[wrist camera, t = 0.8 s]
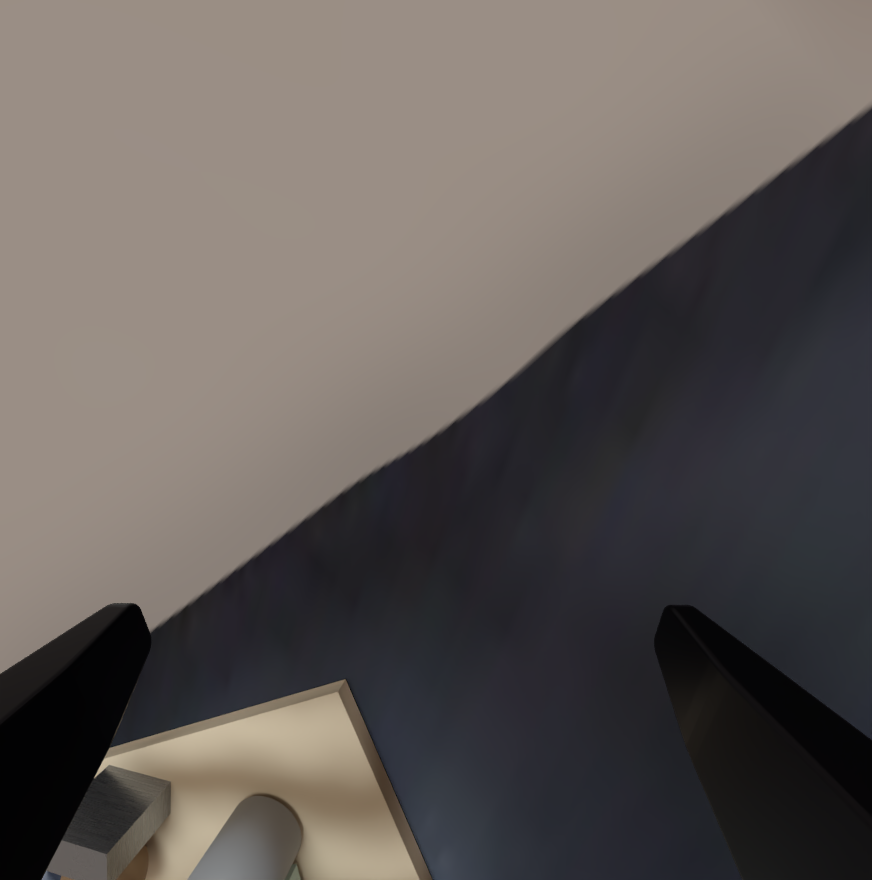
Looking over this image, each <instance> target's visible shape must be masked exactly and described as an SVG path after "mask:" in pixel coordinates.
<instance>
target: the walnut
mask: <svg viewBox="0 0 872 880" xmlns="http://www.w3.org/2000/svg"><path fill="white" fill-rule="evenodd" d="M148 864H149V856H148V850H147V846H146V844H145V845H144V846H143V847H142V849H141V850H140V851H139V852H138V854H137V855H136V856H135V857H134V858H133V860H132V861H131V862H130V863H129V865H128V866H127V867H126V868H125V869H124V871H123V872H122V873H121V874H120V876H119V877H118V878H117V879H116V880H145V878H146V875H147V871H148ZM60 880H74V879H71V878H67V877H64V876H62V877H61V879H60Z"/></svg>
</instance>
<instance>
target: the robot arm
mask: <svg viewBox="0 0 872 880" xmlns="http://www.w3.org/2000/svg"><path fill="white" fill-rule="evenodd" d="M654 647H655V652H656V655H657V658H658V662H659V665H660V668H661V671H662V674H663V677H664V680H665V684H666V687H667V690H668V693H669V696H670V699H671V702H672V706H673V709H674V712H675V715H676V718H677V721H678V724H679V728H680V731H681V734H682V736H683V739H684V742H685V745H686V748H687V750H688V753H689V755H690V758H691V760H692V763H693V765H694V767H695V770H696V772H697V774H698V777H699V779H700V781H701V784H702V786H703V788H704V791H705V793H706V795H707V798H708V800H709V803H710V805H711V807H712V810H713V812H714V814H715V817H716V819H717V821H718V824H719V826H720V828H721V831H722V833H723V835H724V838H725V840H726V842H727V845H728V847H729V849H730V852H731V854H732V857H733V859H734V861H735V864H736V866H737V868H738V871H739V873H740V875H741V878H742V880H872V740H871V739H870V738H868V737H867V736H866V735H864V734H863V733H862V732H860V731H859V730H858V729H856V728H855V727H854V726H852V725H851V724H850V723H848V722H847V721H846V720H844V719H843V718H842V717H840V716H839V715H838V714H836V713H835V712H834V711H832V710H831V709H830V708H828V707H827V706H826V705H824V704H823V703H822V702H820V701H819V700H818V699H816V698H815V697H814V696H812V695H811V694H810V693H808V692H807V691H806V690H804V689H803V688H802V687H800V686H799V685H798V684H796V683H795V682H794V681H792V680H791V679H790V678H788V677H787V676H786V675H784V674H783V673H782V672H780V671H779V670H778V669H776V668H775V667H774V666H772V665H771V664H770V663H768V662H767V661H766V660H764V659H763V658H762V657H760V656H759V655H758V654H756V653H755V652H754V651H752V650H751V649H750V648H748V647H747V646H746V645H744V644H743V643H742V642H740V641H739V640H738V639H736V638H735V637H734V636H732V635H731V634H730V633H728V632H727V631H726V630H724V629H723V628H722V627H720V626H719V625H718V624H716V623H715V622H714V621H712V620H711V619H710V618H708V617H707V616H706V615H704V614H703V613H702V612H700V611H699V610H698V609H696V608H695V607H693V606H690V605H668V606H666V607H665V608H664V610H663V613H662V616H661V619H660V622H659V625H658V628H657V631H656V634H655V638H654ZM150 648H151V635H150V632H149V629H148V627H147V624H146V622H145V619H144V616H143V614H142V611H141V609H140V607H139V606H137V605H136V604H133V603H114V604H110V605H107V606H106V607H104V608H102V609H101V610H99V611H98V612H96V613H94V614H93V615H92V616H90V617H88V618H87V619H85V620H84V621H82V622H80V623H79V624H77V625H76V626H74V627H73V628H71V629H69V630H68V631H66V632H65V633H63V634H62V635H60V636H59V637H57V638H56V639H54V640H52V641H51V642H49V643H48V644H46V645H44V646H43V647H41V648H40V649H38V650H37V651H35V652H34V653H32V654H30V655H29V656H27V657H26V658H24V659H23V660H21V661H20V662H18V663H16V664H15V665H13V666H12V667H10V668H9V669H7V670H5V671H4V672H2V673H1V674H0V880H42V878H43V876H44V874H45V872H46V870H47V868H48V866H49V864H50V862H51V860H52V858H53V856H54V854H55V853H56V851H57V849H58V847H59V845H60V843H61V841H62V839H63V837H64V835H65V833H66V831H67V829H68V827H69V826H70V824H71V822H72V820H73V818H74V816H75V814H76V812H77V810H78V808H79V806H80V804H81V802H82V800H83V799H84V797H85V795H86V793H87V791H88V789H89V787H90V785H91V783H92V781H93V779H94V777H95V775H96V773H97V772H98V770H99V768H100V766H101V764H102V762H103V760H104V758H105V756H106V754H107V752H108V750H109V748H110V746H111V743H112V741H113V739H114V737H115V734H116V732H117V730H118V727H119V725H120V722H121V720H122V718H123V715H124V713H125V710H126V708H127V705H128V703H129V700H130V698H131V696H132V693H133V691H134V688H135V686H136V683H137V681H138V679H139V676H140V674H141V671H142V669H143V666H144V664H145V661H146V659H147V657H148V654H149V651H150Z"/></svg>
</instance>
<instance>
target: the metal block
mask: <svg viewBox="0 0 872 880" xmlns="http://www.w3.org/2000/svg"><path fill="white" fill-rule="evenodd" d="M170 813H171V782H170V781H167V780H163V779H159V778H156V777H152V776H148V775H145V774H141V773H137V772H134V771H130V770H126V769H123V768H119V767H115V766H112V765H108V766H107V767H106V768H105V769H104V770H103V771H102V772H101V773H100V774H99V775H97V776H96V777H95V778H94V779H93V781H92V783H91V785H90V787H89V789H88V791H87V793H86V795H85V797H84V799H83V800H82V802H81V804H80V806H79V808H78V810H77V812H76V814H75V816H74V818H73V820H72V822H71V824H70V826H69V827H68V829H67V831H66V833H65V835H64V837H63V839H62V841H61V843H60V845H59V847H58V849H57V851H56V853H55V854H54V856H53V858H52V860H51V862H50V864H49V866H48V868H47V870H46V871H49V872H52V873H55V874H58V875H61V876H64V877H67V878H71V879H74V880H116V879H117V878H118V877H119V876H120V874H121V873H122V872H123V871H124V869H125V868H126V867H127V866H128V865H129V863H130V862H131V861H132V860H133V858H134V857H135V856H136V855H137V854H138V852H139V851H140V850H141V849H142V847H143V846H144V845H145V844H146V843H147V841H148V840H149V839H150V838H151V836H152V835H153V834H154V833H155V832H156V830H157V829H158V828H159V827H160V825H161V824H162V823H163V822H164V821H165V819H166V818H167V817H168V816H169V814H170Z"/></svg>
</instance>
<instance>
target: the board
mask: <svg viewBox="0 0 872 880" xmlns="http://www.w3.org/2000/svg"><path fill="white" fill-rule="evenodd" d="M108 765H112V766H115V767H119V768H123V769H126V770H130V771H134V772H137V773H141V774H145V775H148V776H152V777H156V778H159V779H163V780H167V781H170V782H171V813H170V814H169V816H168V817H167V818H166V819H165V821H164V822H163V823H162V824H161V825H160V827H159V828H158V829H157V830H156V832H155V833H154V834H153V835H152V836H151V838H150V839H149V840H148V841H147V843H146V846H147V850H148V856H149V864H148V871H147V875H146V878H145V880H187V879H188V878H189V876H190V875H191V873H192V872H193V870H194V869H195V867H196V866H197V864H198V863H199V861H200V860H201V858H202V857H203V855H204V854H205V852H206V851H207V850H208V848H209V847H210V845H211V844H212V842H213V841H214V839H215V838H216V836H217V835H218V833H219V832H220V830H221V829H222V827H223V826H224V824H225V823H226V821H227V820H228V818H229V817H230V816H231V814H232V813H233V811H234V810H235V808H236V807H237V805H238V804H239V803H240V802H241V801H243V800H244V799H246V798H248V797H252V796H264V797H269V798H272V799H274V800H276V801H278V802H280V803H281V804H283V805H284V806H285V807H286V808H287V809H288V810H289V811H290V812H291V813H292V814H293V816H294V817H295V819H296V820H297V822H298V824H299V827H300V831H301V846H300V849H299V851H298V853H297V856H296V858H295V860H294V862H293V864H297V867H298V871H299V875H300V878H301V880H432V878H431V875H430V873H429V871H428V868H427V866H426V864H425V861H424V859H423V857H422V854H421V852H420V850H419V848H418V845H417V843H416V841H415V838H414V836H413V834H412V831H411V829H410V827H409V824H408V822H407V820H406V818H405V815H404V813H403V811H402V808H401V806H400V804H399V801H398V799H397V797H396V794H395V792H394V790H393V788H392V785H391V783H390V781H389V778H388V776H387V774H386V771H385V769H384V767H383V764H382V762H381V760H380V758H379V755H378V753H377V751H376V748H375V746H374V744H373V741H372V739H371V737H370V734H369V732H368V730H367V728H366V725H365V723H364V721H363V718H362V716H361V714H360V711H359V709H358V707H357V704H356V702H355V700H354V698H353V695H352V693H351V691H350V688H349V686H348V684H347V681H346V679H344V680H341V681H337V682H334V683H330V684H327V685H324V686H320V687H317V688H313V689H310V690H307V691H303V692H300V693H296V694H293V695H289V696H286V697H283V698H279V699H276V700H272V701H269V702H265V703H262V704H259V705H255V706H252V707H248V708H245V709H241V710H238V711H235V712H231V713H228V714H224V715H221V716H218V717H214V718H211V719H207V720H204V721H200V722H197V723H194V724H190V725H187V726H183V727H180V728H176V729H173V730H170V731H166V732H163V733H159V734H156V735H153V736H149V737H146V738H142V739H139V740H135V741H132V742H129V743H125V744H122V745H118V746H115V747H111V748H109V750H108V752H107V754H106V756H105V758H104V760H103V762H102V764H101V766H100V768H99V770H98V772H97V773H96V775H95V777H96V776H97V775H99V774H100V773H101V772H102V771H103V770H104V769H105V768H106V767H107V766H108ZM95 777H94V778H95Z"/></svg>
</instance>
